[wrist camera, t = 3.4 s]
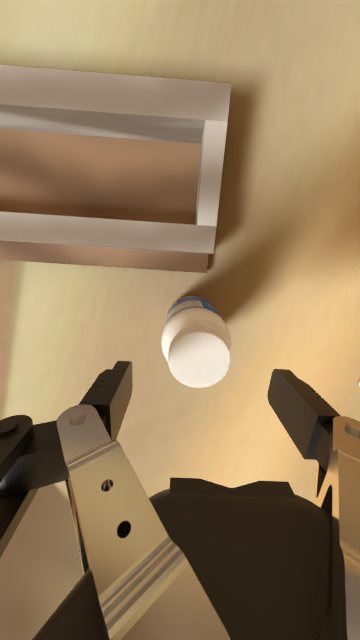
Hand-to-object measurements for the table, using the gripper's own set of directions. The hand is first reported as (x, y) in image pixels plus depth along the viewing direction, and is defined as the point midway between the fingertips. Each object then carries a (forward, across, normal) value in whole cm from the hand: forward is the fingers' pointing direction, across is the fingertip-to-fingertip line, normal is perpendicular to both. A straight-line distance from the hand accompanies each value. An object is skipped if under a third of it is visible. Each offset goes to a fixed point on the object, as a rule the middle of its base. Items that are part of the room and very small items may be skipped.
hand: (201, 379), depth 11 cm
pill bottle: (+11, 0, 0) cm, 11 cm away
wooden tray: (+11, +11, -12) cm, 20 cm away
